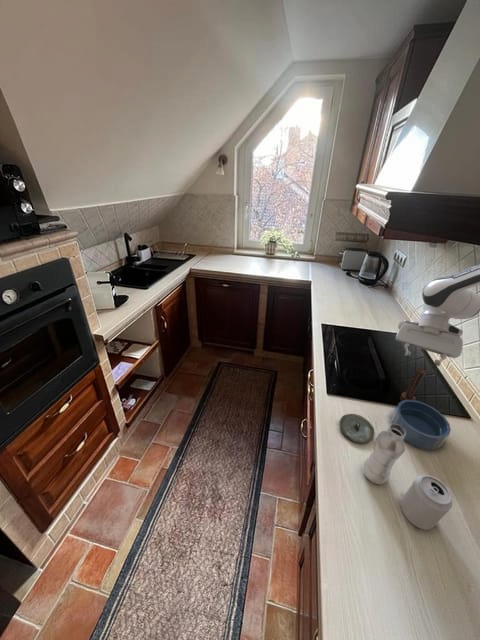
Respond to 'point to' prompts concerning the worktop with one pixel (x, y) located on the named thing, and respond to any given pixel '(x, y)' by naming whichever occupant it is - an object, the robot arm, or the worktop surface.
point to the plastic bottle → (385, 454)
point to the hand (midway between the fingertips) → (421, 360)
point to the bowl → (421, 424)
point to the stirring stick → (413, 386)
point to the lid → (356, 428)
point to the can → (426, 502)
